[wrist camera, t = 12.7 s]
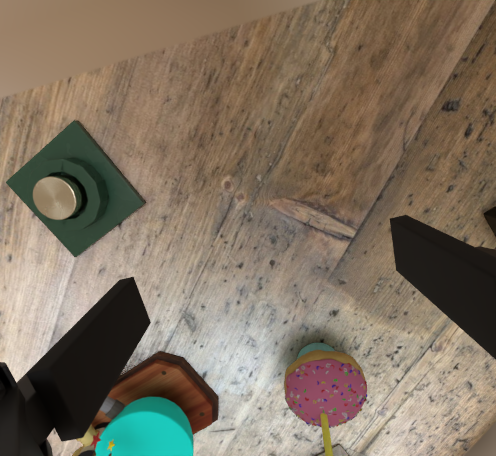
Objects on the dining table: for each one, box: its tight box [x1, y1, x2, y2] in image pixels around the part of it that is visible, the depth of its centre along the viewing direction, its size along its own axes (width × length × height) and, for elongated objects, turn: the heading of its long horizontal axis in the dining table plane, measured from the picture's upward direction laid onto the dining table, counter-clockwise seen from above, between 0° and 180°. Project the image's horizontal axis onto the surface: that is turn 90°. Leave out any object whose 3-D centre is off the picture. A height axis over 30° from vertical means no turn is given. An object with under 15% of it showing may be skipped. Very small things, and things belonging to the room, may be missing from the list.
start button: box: [33, 175, 86, 220], centre depth 28 cm, size 4×4×2 cm
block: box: [6, 120, 146, 257], centre depth 30 cm, size 10×10×2 cm
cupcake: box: [284, 343, 367, 456], centre depth 30 cm, size 9×8×12 cm
